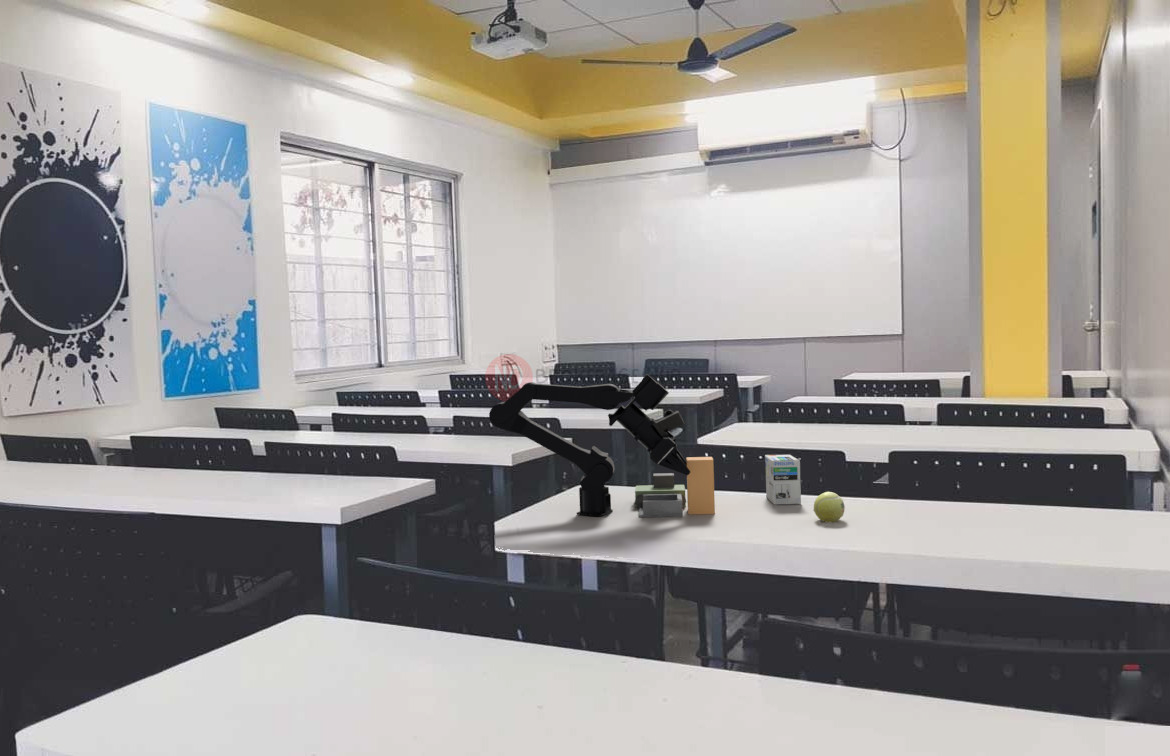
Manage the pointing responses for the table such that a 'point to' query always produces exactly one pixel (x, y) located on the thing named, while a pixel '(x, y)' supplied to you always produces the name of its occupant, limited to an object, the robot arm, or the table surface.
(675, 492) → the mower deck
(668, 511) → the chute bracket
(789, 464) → the light bulb box
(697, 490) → the tan rectangular block
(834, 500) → the tennis ball
